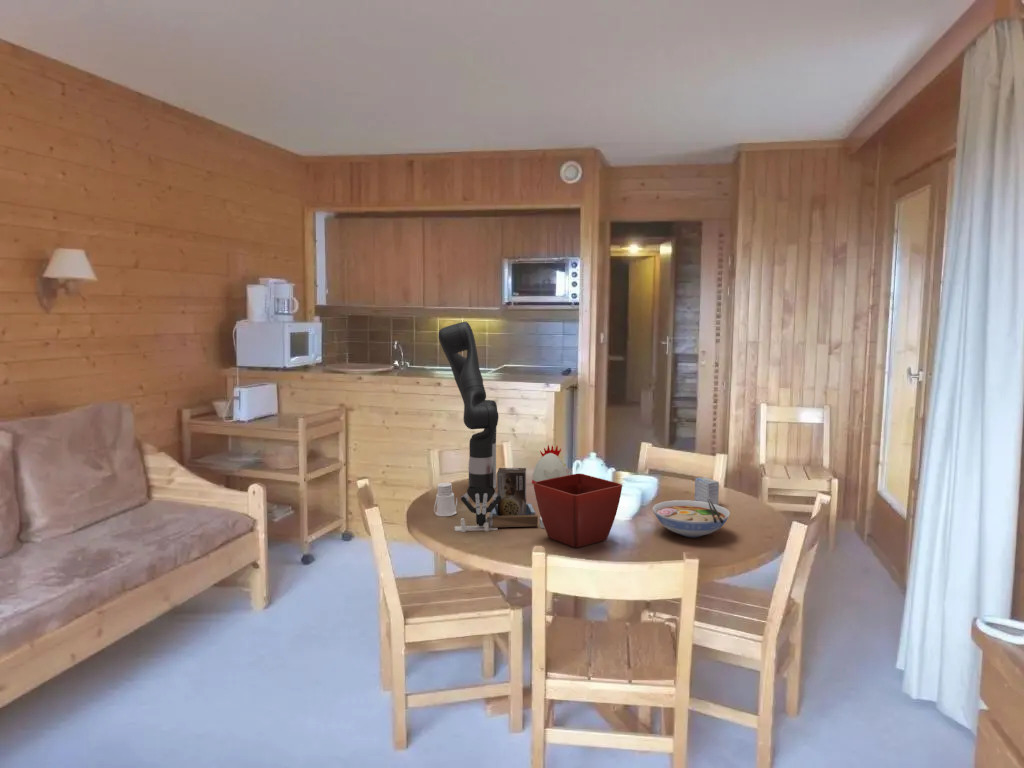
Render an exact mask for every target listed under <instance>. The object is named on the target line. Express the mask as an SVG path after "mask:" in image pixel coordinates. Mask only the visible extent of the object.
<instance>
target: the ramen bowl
mask: <svg viewBox="0 0 1024 768" xmlns="http://www.w3.org/2000/svg"><path fill="white" fill-rule="evenodd" d="M707 500H708V499H707ZM709 500H710V499H709ZM710 502H711V501H710ZM652 511H653V513H654V515H655V517H656V518H657V520H658V521H659V523H660V524H661V526H663V527H664V528H666V529H667V530H669V531H670V532H673V533H676V534H677V535H679V536H682V537H684V538H685V537H686V538H699V537H703V536H706V535H711V534H713V533H714V532H716V531H718V530H720V529H721V528H722V527H723V526H724V525H725V524H726V523H727V521H728V519H729V517H730V514H731V511H729V510H728V508H726V507H723V506H721V505H719V504H718V505H716V504H712V502H711V503H709V501H708V503H707V502H701V501H695V500H689V499H686V500H685V499H683V500H681V499H679V500H677V499H674V500H667V501H661V502H658V503H655V504H654V505H653V506H652Z"/></svg>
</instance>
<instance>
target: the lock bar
mask: <svg viewBox="0 0 1024 768" xmlns="http://www.w3.org/2000/svg"><path fill="white" fill-rule="evenodd" d="M486 518H487V523H488V526H492V527H497V528H513V527H514V528H519V527H520V528H521V527H538V522H539V519H538V518H539V517H538V515H537V514H535V515H512V516H492V518H490V517H486Z"/></svg>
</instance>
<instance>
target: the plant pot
mask: <svg viewBox="0 0 1024 768" xmlns="http://www.w3.org/2000/svg"><path fill="white" fill-rule="evenodd" d="M533 490H534V495H535V499H536V502H537V508H538V511H539V515H540V517H541V518H542V521H543V524H544V527H545V528H544V529H545V532H546V535H547V537H548V538H549V539H551V540H554V541H557V542H560V543H562V544H565V545H568V546H569V547H572V548H581V547H585V546H588V545H593V544H596V543H599V542H602V541H603V542H604V541H606V540H607V539H608V538H609V535H610V532H611V529H612V527H613V525H614V521H615V518H616V515H617V511H618V508H619V504H620V500H621V495H622V491H623V484H622V483H619V482H614V481H611V480H607V479H603V478H600V477H596V476H592V475H588V474H585V473H573V474H567V476H562V477H557V478H552V479H547V480H542V481H537V482H534V485H533Z"/></svg>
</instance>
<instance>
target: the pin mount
mask: <svg viewBox="0 0 1024 768" xmlns="http://www.w3.org/2000/svg"><path fill="white" fill-rule="evenodd" d="M487 518H488V517H486V523H484V524H483V526H479V525H466V521H465V517H464V518H463V517H461V518H460V525H454V531H455V532H461V533H466V532H468V531H469V532H470V531H473V532H477V531H479V532H480V531H484V532H489V531H498V528H499V527H492V526H488V523H487ZM538 518H539V519H538V522H539V527H540V529H545V527H544V524H543V521H542V518H541V516H539V517H538Z"/></svg>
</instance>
